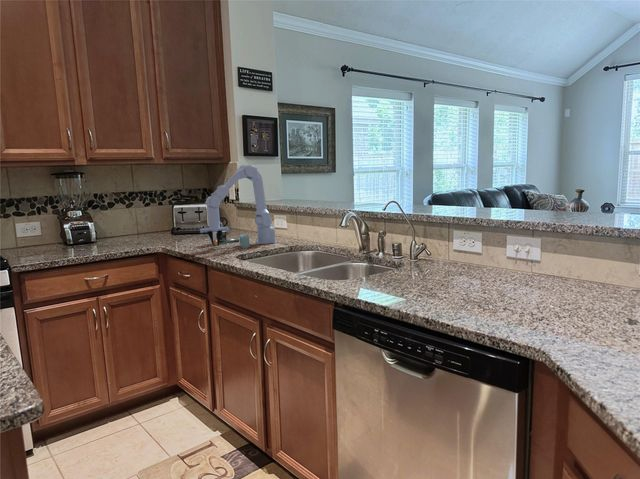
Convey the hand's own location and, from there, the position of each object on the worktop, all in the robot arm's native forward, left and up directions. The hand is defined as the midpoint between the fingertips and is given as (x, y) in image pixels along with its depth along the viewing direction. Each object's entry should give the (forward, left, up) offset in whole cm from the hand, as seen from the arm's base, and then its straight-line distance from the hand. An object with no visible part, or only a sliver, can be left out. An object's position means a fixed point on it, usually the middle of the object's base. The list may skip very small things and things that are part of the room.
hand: (215, 245), depth 242 cm
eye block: (-15, -3, -2) cm, 16 cm away
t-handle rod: (-6, -3, 0) cm, 7 cm away
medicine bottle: (-2, -17, -2) cm, 17 cm away
